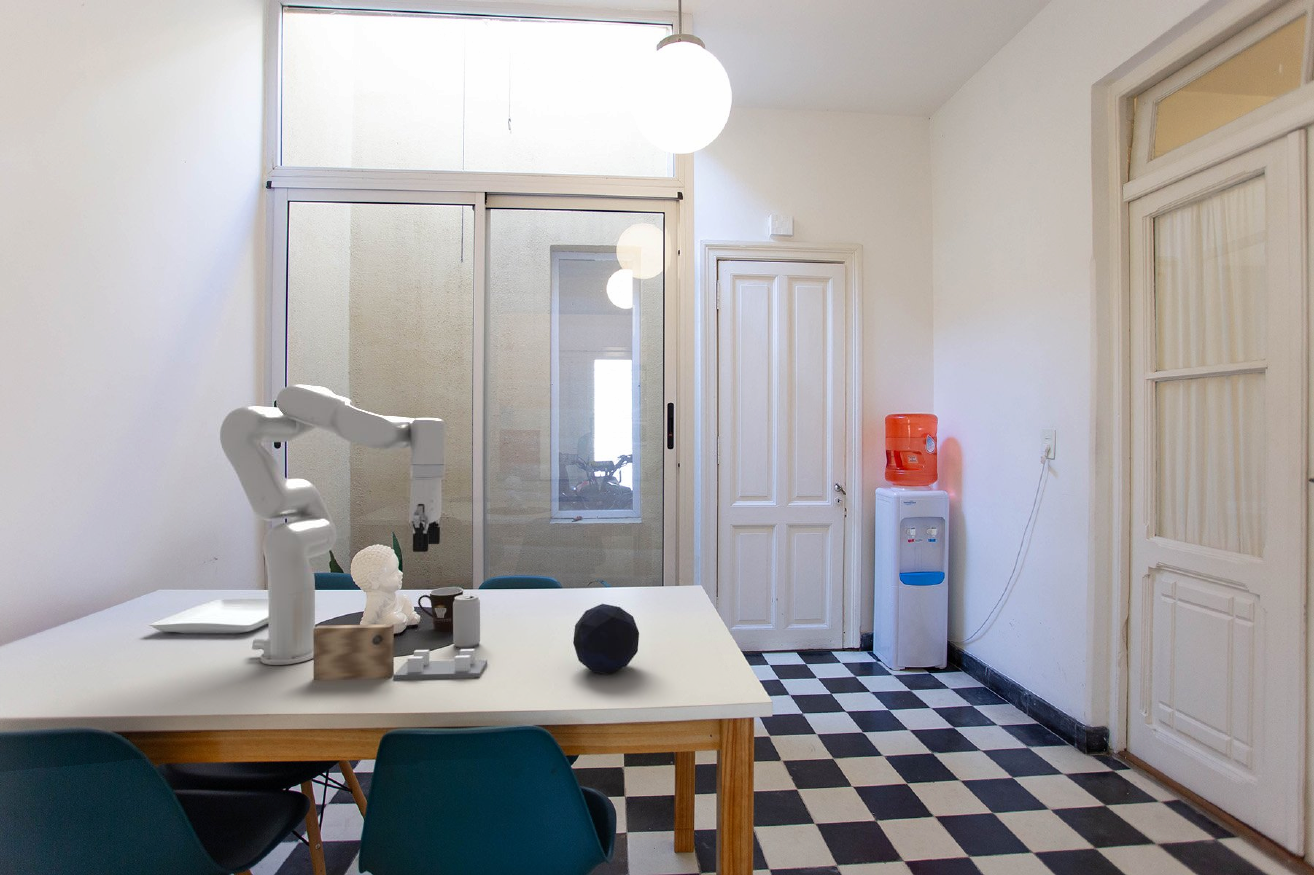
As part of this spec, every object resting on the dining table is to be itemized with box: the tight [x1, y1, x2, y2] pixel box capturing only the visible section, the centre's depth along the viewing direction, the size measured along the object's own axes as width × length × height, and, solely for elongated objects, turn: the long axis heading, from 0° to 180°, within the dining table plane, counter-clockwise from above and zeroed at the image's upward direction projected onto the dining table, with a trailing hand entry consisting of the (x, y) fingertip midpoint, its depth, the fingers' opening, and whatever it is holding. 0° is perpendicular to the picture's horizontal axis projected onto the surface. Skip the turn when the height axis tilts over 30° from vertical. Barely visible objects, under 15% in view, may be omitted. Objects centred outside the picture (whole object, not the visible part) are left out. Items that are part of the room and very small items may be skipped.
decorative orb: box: [572, 603, 640, 675], centre depth 140 cm, size 14×15×15 cm
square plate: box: [148, 597, 268, 634], centre depth 178 cm, size 27×27×4 cm
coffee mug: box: [417, 586, 464, 633], centre depth 172 cm, size 12×9×10 cm
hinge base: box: [392, 648, 488, 681], centre depth 139 cm, size 18×8×4 cm, turn 93°
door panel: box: [312, 623, 395, 681], centre depth 136 cm, size 16×3×11 cm, turn 93°
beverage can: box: [452, 593, 481, 649], centre depth 157 cm, size 6×6×12 cm
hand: (426, 547), depth 145 cm, fingers open, 9 cm apart
